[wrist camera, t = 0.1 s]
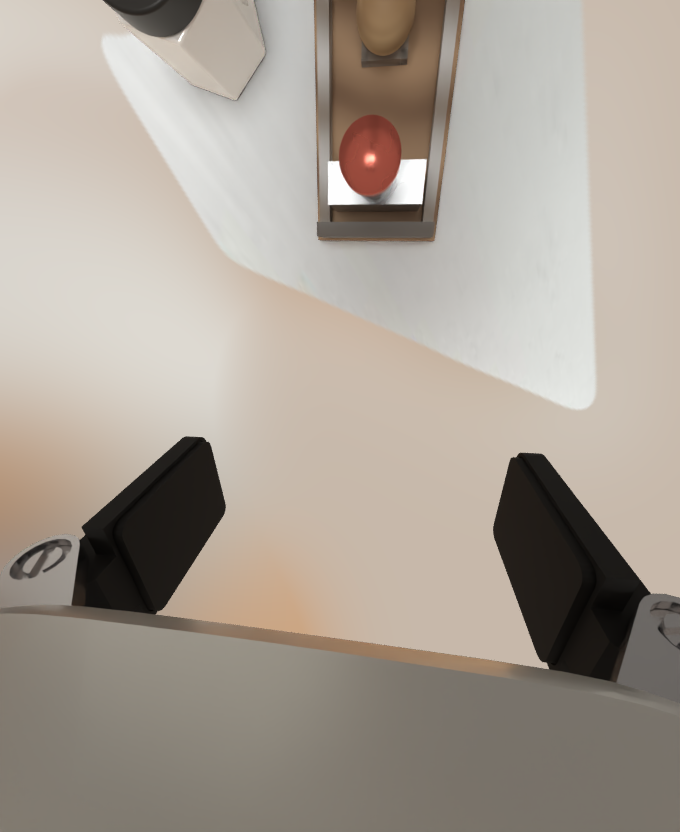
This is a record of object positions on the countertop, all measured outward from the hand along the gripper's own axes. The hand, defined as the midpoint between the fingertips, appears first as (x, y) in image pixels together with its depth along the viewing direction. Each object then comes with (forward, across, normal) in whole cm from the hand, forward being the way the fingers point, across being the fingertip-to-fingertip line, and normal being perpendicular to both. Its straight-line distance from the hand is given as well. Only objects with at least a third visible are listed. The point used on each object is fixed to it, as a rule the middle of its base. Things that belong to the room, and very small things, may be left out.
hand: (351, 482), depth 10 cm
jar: (+31, +15, -24) cm, 42 cm away
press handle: (+30, 0, -12) cm, 32 cm away
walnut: (+27, 0, -23) cm, 35 cm away
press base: (+31, 0, -19) cm, 36 cm away
